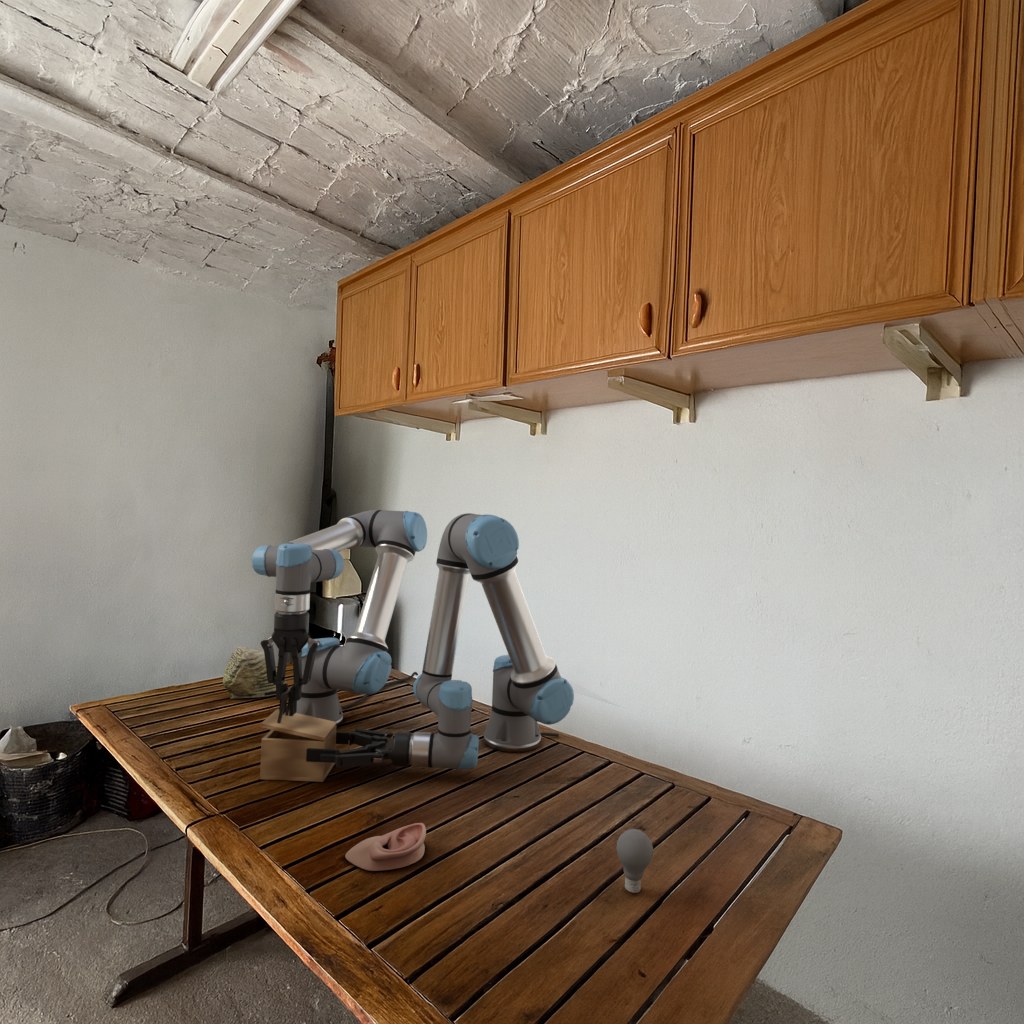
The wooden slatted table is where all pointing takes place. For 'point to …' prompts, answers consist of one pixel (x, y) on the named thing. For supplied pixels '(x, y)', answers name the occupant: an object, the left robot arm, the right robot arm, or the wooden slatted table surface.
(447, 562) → the right robot arm
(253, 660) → the fossil
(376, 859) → the anatomical model
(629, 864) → the light bulb
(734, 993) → the wooden slatted table surface
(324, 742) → the chest
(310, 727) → the lid
